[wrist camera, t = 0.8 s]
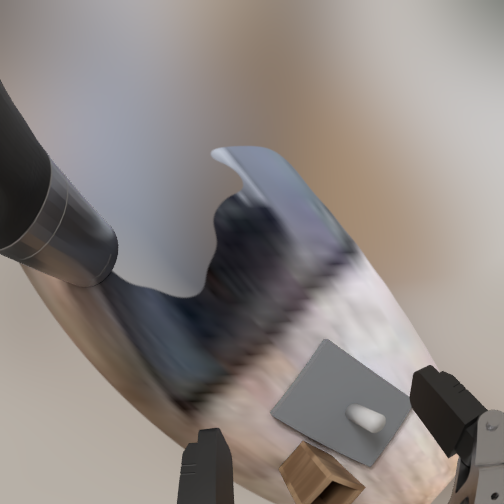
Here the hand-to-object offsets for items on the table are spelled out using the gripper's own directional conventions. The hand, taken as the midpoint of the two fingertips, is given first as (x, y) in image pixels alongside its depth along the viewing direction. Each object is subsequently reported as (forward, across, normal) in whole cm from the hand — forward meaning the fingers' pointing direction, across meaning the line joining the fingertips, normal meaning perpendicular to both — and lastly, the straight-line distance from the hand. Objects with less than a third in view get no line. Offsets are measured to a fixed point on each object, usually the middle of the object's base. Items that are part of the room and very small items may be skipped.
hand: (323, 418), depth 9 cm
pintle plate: (+17, -7, +20) cm, 27 cm away
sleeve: (+13, 0, +24) cm, 28 cm away
